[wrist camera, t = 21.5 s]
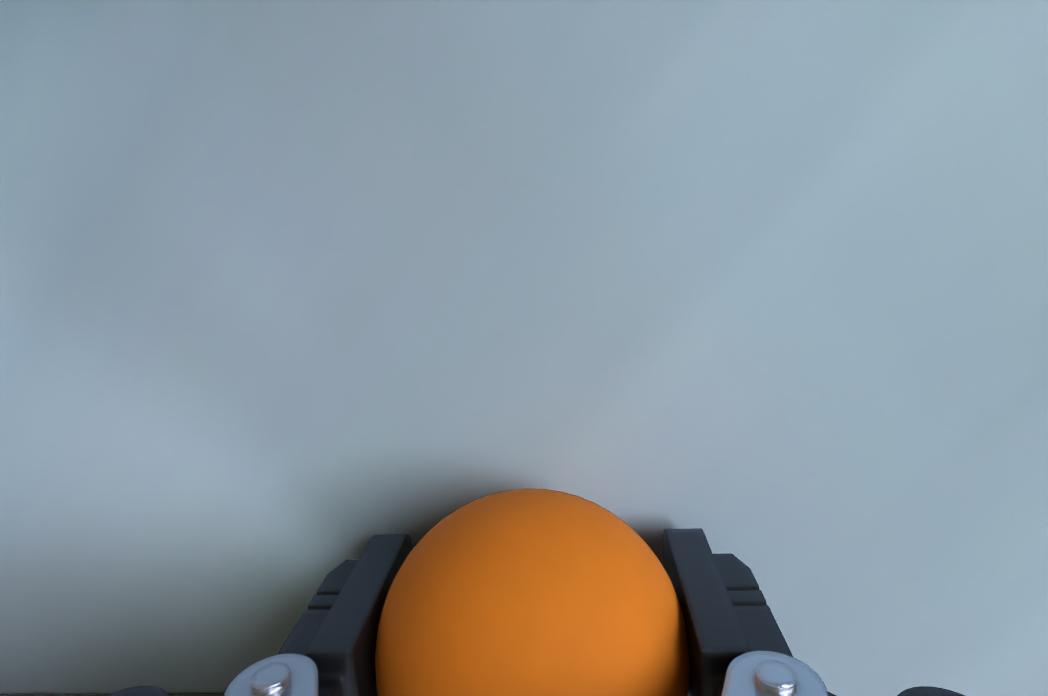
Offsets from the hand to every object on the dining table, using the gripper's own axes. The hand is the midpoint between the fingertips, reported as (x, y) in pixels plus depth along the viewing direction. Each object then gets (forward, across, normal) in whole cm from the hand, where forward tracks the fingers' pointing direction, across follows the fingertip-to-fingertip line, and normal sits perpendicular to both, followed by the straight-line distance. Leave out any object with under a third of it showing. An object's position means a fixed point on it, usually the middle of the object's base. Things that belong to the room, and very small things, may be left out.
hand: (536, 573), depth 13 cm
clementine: (-2, 0, 0) cm, 2 cm away
